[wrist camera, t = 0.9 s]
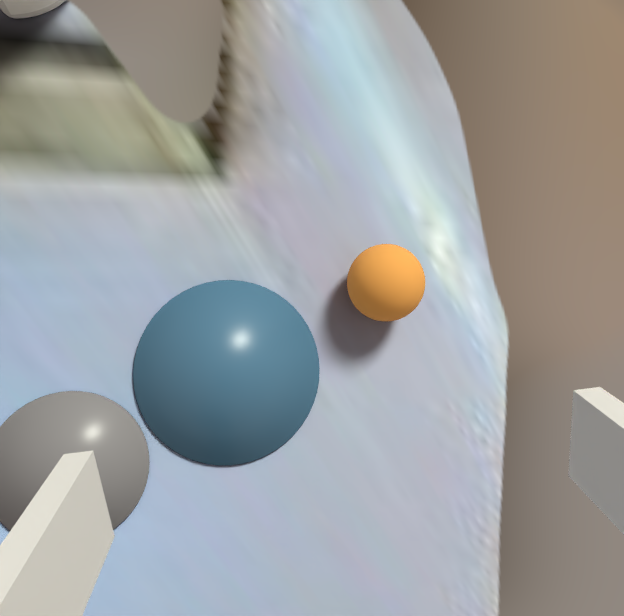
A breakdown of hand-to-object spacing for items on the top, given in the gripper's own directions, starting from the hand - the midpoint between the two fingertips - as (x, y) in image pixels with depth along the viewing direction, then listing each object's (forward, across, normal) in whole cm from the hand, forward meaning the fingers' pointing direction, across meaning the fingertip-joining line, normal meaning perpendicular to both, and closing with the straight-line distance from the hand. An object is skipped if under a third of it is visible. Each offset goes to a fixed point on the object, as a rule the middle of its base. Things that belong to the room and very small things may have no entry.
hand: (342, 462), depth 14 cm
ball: (+23, -6, +1) cm, 24 cm away
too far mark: (+18, +16, +10) cm, 27 cm away
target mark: (+22, +6, +6) cm, 23 cm away
